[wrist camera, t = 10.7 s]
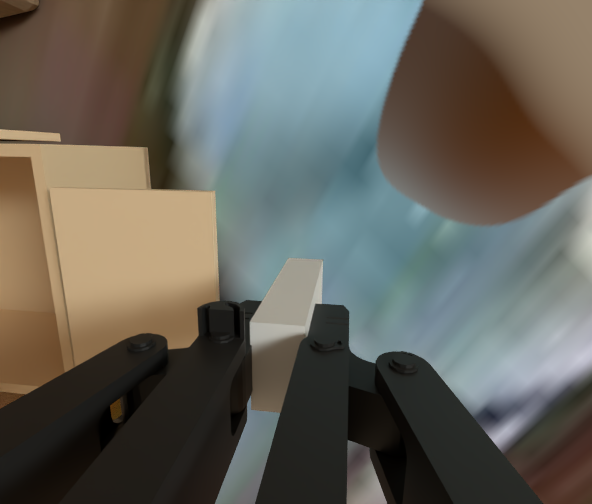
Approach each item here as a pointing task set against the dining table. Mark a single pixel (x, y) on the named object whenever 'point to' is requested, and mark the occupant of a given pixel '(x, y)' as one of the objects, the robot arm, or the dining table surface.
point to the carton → (45, 247)
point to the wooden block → (16, 7)
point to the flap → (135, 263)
